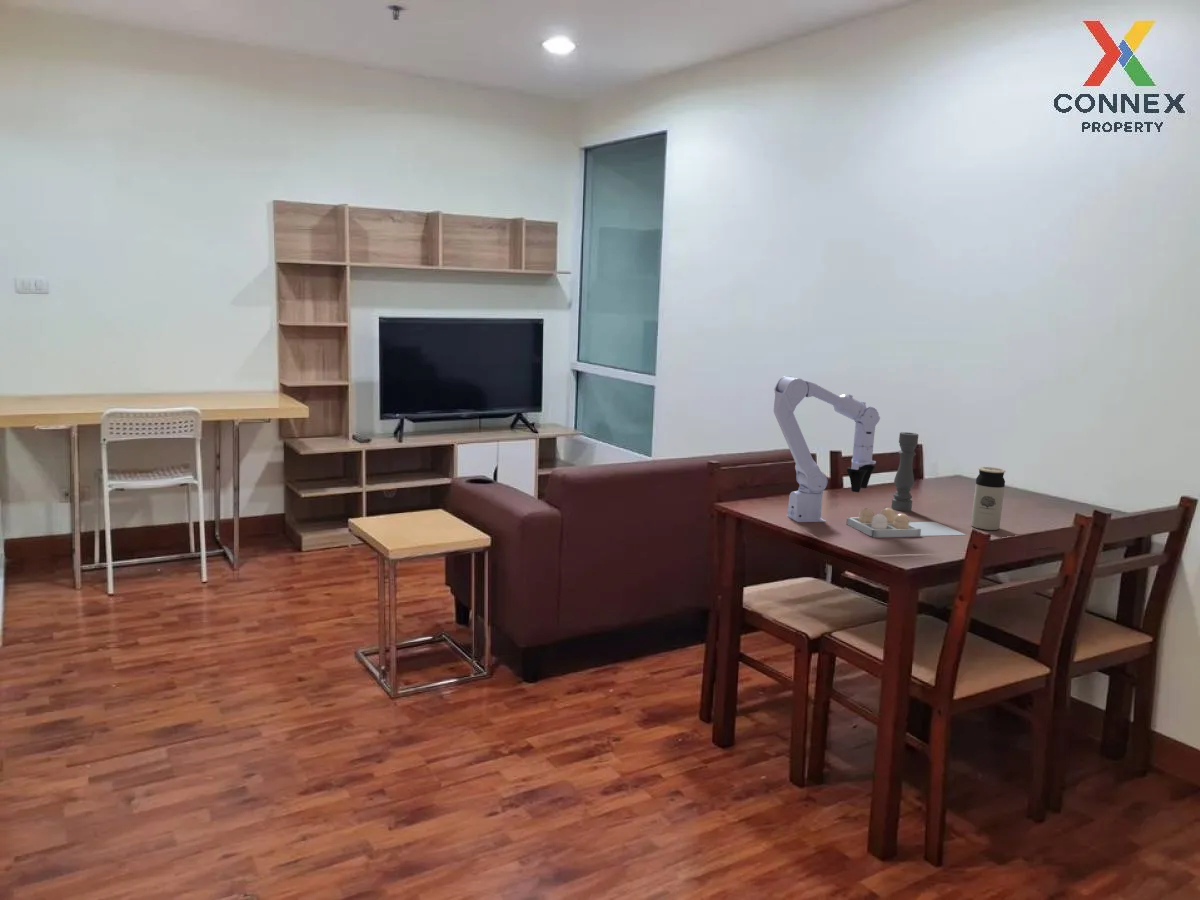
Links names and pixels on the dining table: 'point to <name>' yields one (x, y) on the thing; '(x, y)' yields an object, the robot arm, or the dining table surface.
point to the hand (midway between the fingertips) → (859, 489)
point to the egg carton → (912, 530)
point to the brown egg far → (888, 514)
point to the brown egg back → (901, 521)
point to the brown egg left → (866, 515)
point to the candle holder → (905, 472)
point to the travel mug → (988, 498)
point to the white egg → (879, 522)
